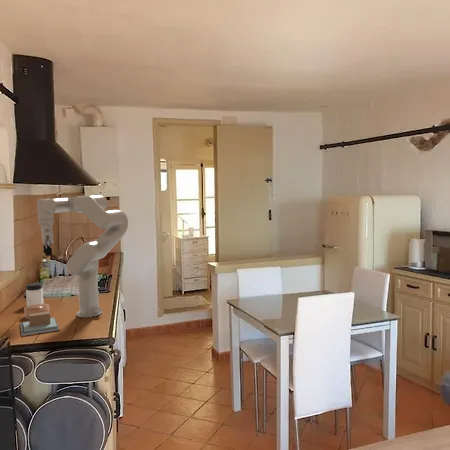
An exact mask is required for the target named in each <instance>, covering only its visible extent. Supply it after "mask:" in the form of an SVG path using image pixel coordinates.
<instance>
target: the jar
mask: <svg viewBox="0 0 450 450" xmlns="http://www.w3.org/2000/svg"><path fill="white" fill-rule="evenodd" d="M25 295H26V297H25V298H26V306H29V305H33V304H45V302H44V288H43V283H42V282H39V281H38V282H31V283H27V284H26V285H25Z"/></svg>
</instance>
